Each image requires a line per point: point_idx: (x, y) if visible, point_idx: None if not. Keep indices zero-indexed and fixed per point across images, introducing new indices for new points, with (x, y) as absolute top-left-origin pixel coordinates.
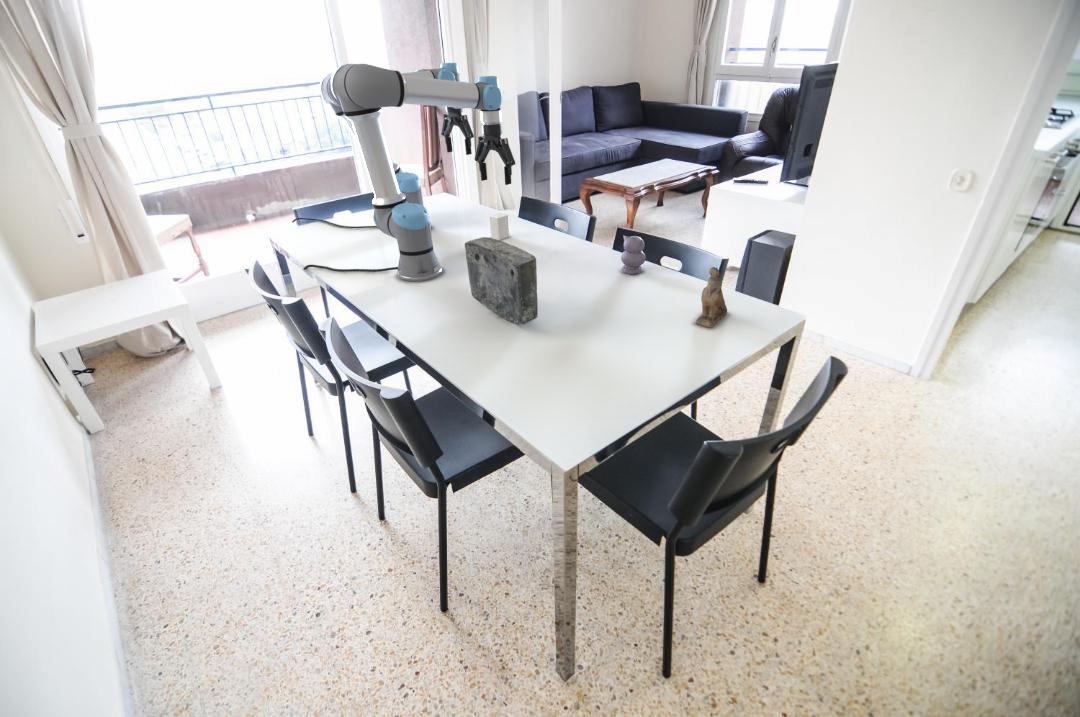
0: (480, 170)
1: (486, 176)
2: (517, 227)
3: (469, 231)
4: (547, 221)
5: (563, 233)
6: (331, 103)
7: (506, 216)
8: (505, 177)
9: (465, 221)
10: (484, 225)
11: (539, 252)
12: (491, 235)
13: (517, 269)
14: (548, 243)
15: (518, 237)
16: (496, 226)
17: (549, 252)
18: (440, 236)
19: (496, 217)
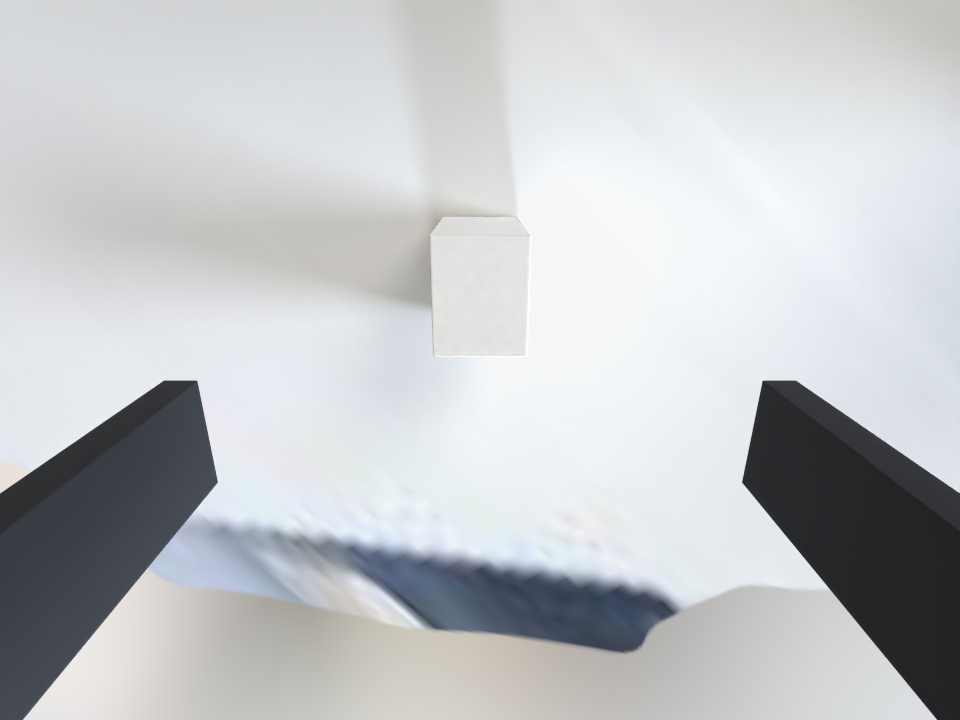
0: (927, 475)
1: (771, 502)
2: (532, 463)
3: (757, 234)
4: (465, 617)
5: (241, 520)
6: None
7: (433, 339)
8: (93, 438)
9: (924, 373)
10: (746, 383)
11: (60, 196)
12: (515, 218)
13: None
14: (161, 353)
15: (387, 332)
16: (453, 226)
17: (19, 234)
18: (891, 8)
19: (460, 252)
